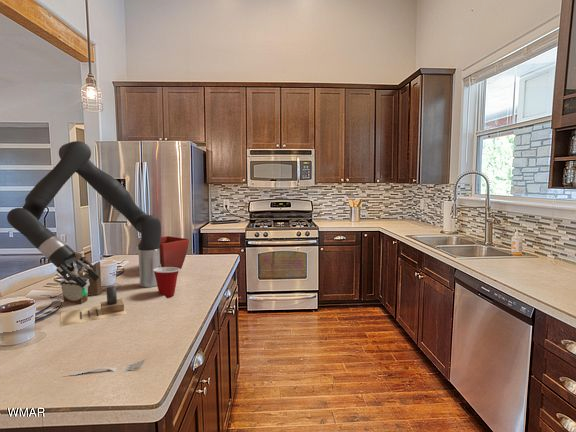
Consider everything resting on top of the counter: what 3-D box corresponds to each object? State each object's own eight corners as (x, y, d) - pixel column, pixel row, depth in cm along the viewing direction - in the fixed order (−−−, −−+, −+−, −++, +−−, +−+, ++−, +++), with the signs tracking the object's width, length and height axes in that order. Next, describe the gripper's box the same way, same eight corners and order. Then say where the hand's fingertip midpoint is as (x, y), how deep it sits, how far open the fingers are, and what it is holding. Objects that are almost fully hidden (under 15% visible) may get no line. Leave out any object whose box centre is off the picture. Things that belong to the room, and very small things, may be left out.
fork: (43, 376, 86) (43, 369, 86) (146, 364, 92) (146, 358, 92) (37, 383, 83) (37, 376, 83) (144, 370, 89) (144, 364, 89)
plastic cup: (186, 293, 149) (185, 266, 148) (167, 301, 139) (166, 272, 138) (167, 290, 154) (166, 264, 152) (148, 297, 144) (147, 269, 143)
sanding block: (121, 305, 131) (120, 283, 130) (124, 310, 125) (123, 288, 124) (100, 308, 127) (99, 286, 126) (102, 314, 121) (101, 291, 121)
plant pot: (190, 268, 194) (190, 238, 193) (162, 275, 178) (161, 243, 176) (168, 263, 204) (167, 235, 203) (140, 270, 188) (138, 240, 187)
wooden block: (97, 295, 147) (95, 254, 145) (72, 295, 147) (69, 254, 145) (102, 292, 151) (99, 252, 149) (77, 292, 150) (74, 252, 149)
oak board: (122, 305, 134) (122, 302, 134) (127, 317, 123) (126, 313, 122) (61, 316, 124) (61, 312, 124) (60, 330, 112) (60, 326, 112)
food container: (98, 302, 138) (96, 278, 137) (84, 308, 132) (83, 282, 131) (75, 299, 142) (74, 275, 141) (61, 304, 136) (59, 279, 135)
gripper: (51, 248, 116) (87, 280, 118) (75, 241, 130) (108, 270, 132) (36, 263, 116) (73, 295, 118) (62, 254, 131) (94, 283, 132)
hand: (91, 282), depth 125 cm, fingers open, 8 cm apart
